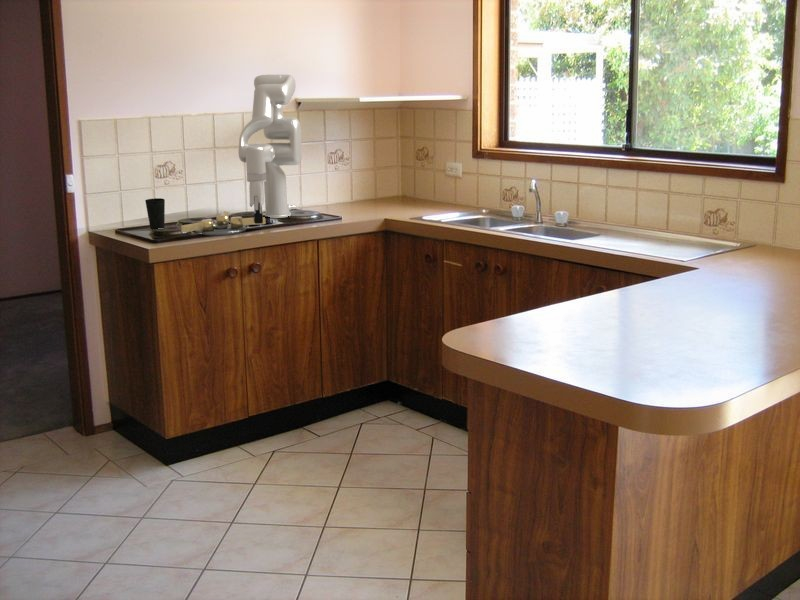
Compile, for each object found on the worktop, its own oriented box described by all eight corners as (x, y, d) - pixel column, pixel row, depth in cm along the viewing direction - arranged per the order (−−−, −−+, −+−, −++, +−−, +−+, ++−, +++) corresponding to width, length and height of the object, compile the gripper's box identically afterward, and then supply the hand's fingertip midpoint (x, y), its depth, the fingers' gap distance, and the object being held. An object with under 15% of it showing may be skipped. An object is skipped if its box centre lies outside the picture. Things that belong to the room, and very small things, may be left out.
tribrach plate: (225, 224, 377) (225, 218, 377) (256, 230, 364) (255, 223, 364) (185, 231, 363) (185, 225, 362) (215, 237, 350) (215, 231, 349)
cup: (155, 231, 364) (153, 202, 361) (143, 229, 369) (141, 200, 365) (170, 228, 370) (168, 199, 367) (159, 226, 375) (156, 197, 371)
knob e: (208, 228, 362) (208, 217, 361) (216, 229, 359) (215, 219, 358) (179, 233, 352) (178, 223, 351) (186, 234, 349) (185, 224, 348)
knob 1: (228, 225, 367) (227, 215, 366) (216, 225, 367) (215, 215, 366) (232, 218, 381) (231, 209, 380) (221, 219, 381) (220, 209, 379)
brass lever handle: (231, 228, 361) (230, 218, 360) (230, 226, 365) (229, 216, 364) (266, 226, 364) (265, 216, 363) (265, 224, 368) (264, 214, 367)
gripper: (249, 175, 365) (251, 220, 370) (244, 179, 351) (247, 226, 355) (267, 175, 365) (269, 219, 370) (264, 179, 351) (266, 226, 356)
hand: (258, 223), depth 363 cm, fingers closed
